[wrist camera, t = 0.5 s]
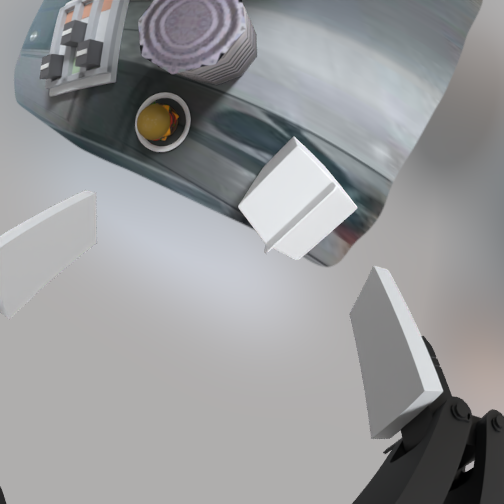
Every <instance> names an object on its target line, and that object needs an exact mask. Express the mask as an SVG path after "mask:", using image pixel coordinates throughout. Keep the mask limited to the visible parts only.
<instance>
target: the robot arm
mask: <svg viewBox="0 0 504 504" xmlns="http://www.w3.org/2000/svg"><path fill="white" fill-rule="evenodd" d="M95 244H97V227H96V193H95V192H91V191H87V190H85V191H82V192H80V193H78V194H76V195H74V196H72V197H70V198H68V199H66V200H64V201H61V202H59V203H58V204H56V205H54V206H52V207H50V208H48V209H46V210H44V211H42V212H40V213H38V214H37V215H35V216H33V217H31V218H29V219H28V220H26V221H24V222H23V223H21V224H19V225H17V226H16V227H14V228H12V229H11V230H9V231H7V232H6V233H4V234H3V235H1V236H0V313H2V314H3V315H4V316H5V317H7V318H8V319H11V318H12V317H13V316H14V315H15V314H16V313H17V312H18V311H19V310H20V309H21V308H22V307H23V306H24V305H25V304H26V303H27V302H28V301H29V300H30V299H31V298H32V297H34V295H36V294H37V293H38V292H39V291H40V290H41V289H42V288H43V287H45V286H46V285H47V284H48V283H49V282H50V281H51V280H53V279H54V278H55V277H56V276H57V275H58V274H60V273H61V272H62V271H63V270H64V269H65V268H67V267H68V266H69V265H70V264H71V263H73V262H74V261H75V260H76V259H78V258H79V257H80V256H81V255H82V254H84V253H85V252H86V251H88V250H89V249H90V248H92V247H93V246H94V245H95ZM350 318H351V323H352V327H353V332H354V336H355V341H356V346H357V351H358V356H359V361H360V366H361V372H362V378H363V384H364V390H365V396H366V403H367V410H368V417H369V424H370V431H371V439H385V438H386V439H388V438H391V437H392V436H394V435H395V434H396V433H397V432H399V431H400V430H401V433H402V438H401V439H400V440H398V441H397V442H396V443H394V444H393V445H392V446H390V447H389V448H387V449H386V450H385V451H384V452H383V453H385V454H386V453H388V452H389V451H391V450H392V451H391V452H390V454H389V455H388V457H387V458H386V460H385V461H384V463H383V464H382V466H381V467H380V469H379V470H378V471H377V473H376V474H375V476H374V477H373V478H372V480H371V481H370V482H369V484H368V485H367V486H366V488H365V489H364V490H363V491H362V493H361V494H360V495H359V496H358V497H357V499H356V500H355V501H354V502H353V503H352V504H504V416H502V414H501V413H500V412H498V411H497V410H490V411H489V412H488V413H486V414H485V415H484V416H483V417H482V418H479V417H476V416H473V415H472V414H471V410H470V408H469V407H468V405H467V404H466V403H465V402H464V401H463V400H462V399H460V398H458V397H452V395H451V392H450V390H449V387H448V384H447V382H446V379H445V377H444V374H443V372H442V369H441V367H439V366H440V364H439V362H438V360H437V359H436V355H435V352H434V350H433V348H432V346H431V345H430V343H429V342H428V341H427V340H426V338H425V337H424V336H421V334H420V332H419V330H418V328H417V326H416V323H415V321H414V319H413V317H412V315H411V313H410V311H409V309H408V307H407V305H406V303H405V301H404V299H403V297H402V295H401V293H400V291H399V289H398V287H397V286H396V283H395V282H394V280H393V278H392V276H391V274H390V272H389V270H388V269H384V268H380V267H377V266H373V268H372V270H371V272H370V275H369V277H368V279H367V281H366V283H365V285H364V287H363V289H362V291H361V293H360V295H359V297H358V298H357V300H356V302H355V305H354V306H353V308H352V310H351V312H350ZM472 461H474V467H473V468H472V469H470V470H469V471H467V472H465V466H466V465H468V464H469V463H471V462H472ZM0 504H6V501H5V498H4V495H3V492H2V489H1V487H0Z"/></svg>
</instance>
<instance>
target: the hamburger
mask: <svg viewBox="0 0 504 504" xmlns="http://www.w3.org/2000/svg"><path fill="white" fill-rule="evenodd" d="M160 98H171V99H173V100H175V101H177V102H178V103H179V104H180V105H181V106H182V108H183V109H184V112H185V116H186V125H185V129H184V131H183V133H182V135H181V136H180V138H179V139H178V140H177V141H176V142H174V143H173V144H170V145H168V146H156V145H153V144H151V143H150V142H149V141H148V140H147V139H149V140H154V141H156V140H160V141H161V140H164V141H165V140H166V138H167V137H169V136H170V135H171V134H173V132H174V131H175V130H176V128H177V125H178V117H179V116H178V115H177V114H176V112H175V110H174V109H173V108H172V107H170V106H169V105H167V104H162V103H157V104H155V102H154V104H151V103H152V102H153V101H155V100H157V99H160ZM149 104H151V105H149ZM148 105H149V106H148ZM190 122H191V117H190V111H189V109H188V106H187V105H186V103H185V102H184V101H183V99H182V98H180V97H179V96H177V95H175V94H173V93H167V92H164V93H158V94H155V95H153V96H151V97H149V98H148V99H147V100H146V101H145V102H144V103H143V104H142V105H141V107H140V108H139V110H138V113H137V115H136V120H135V129H136V133H137V136H138V138H139V140H140V142H141V143H142V144H143V145H144V146H145V147H146V148H148V149H150V150H152V151H156V152H166V151H170V150H172V149H174V148H176V147H177V146H179V145H180V144H181V143H182V142H183V140H184V139H185V137H186V136H187V134H188V131H189V128H190Z"/></svg>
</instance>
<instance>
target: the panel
mask: <svg viewBox="0 0 504 504" xmlns="http://www.w3.org/2000/svg"><path fill="white" fill-rule="evenodd" d="M128 4H129V0H72V1H70V2H68V3H66V4H65V6H64V7H62V8H60V10H59V14H58V18H57V22H56V26H55V30H54V35H53V39H52V44H51V50H50V54H58V55H64V61H63V69H62V77H60V78H57V79H46V86H45V89H50V92H49V96H57V95H61V94H64V93H68V92H72V91H76V90H80V89H84V88H89V87H93V86H98V85H103V84H109V83H114V82H116V75H117V66H118V59H119V51H120V45H121V39H122V33H123V28H124V23H125V18H126V13H127V9H128ZM73 20H78V21H81V22H85V23H88V24H87V28H86V33H85V39H84V41H85V40H88V39H92V40H96V41H100V42H103V49H102V56H101V63H100V66H98V67H94V68H85V67H76V66H75V62H76V55H77V49H78V47H70V46H64V45H60V43H61V38H62V33H63V29H64V25H65V24H66V23H68V22H70V21H73Z"/></svg>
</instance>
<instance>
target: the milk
mask: <svg viewBox="0 0 504 504" xmlns="http://www.w3.org/2000/svg"><path fill="white" fill-rule="evenodd" d="M238 208H239V209H240V211H241V212H242V213H243V215H244V216H245V217H246V219H247V220H248V221H249V223H250V224H251V225H252V227H253V228H254V229H255V231H256V232H257V233H258V234H259V236H260V237H261V238H262V240H263V241H264V242H265V244H266V245H265V251H264V252H265V253H268V252H269V251H270V250H271V249H272V248H273V249H275V250H277V251H279V252H281V253H283V254H285V255H286V256H288V257H290V258H292V259H294V260H296V261H298V260H299V259H300V258H302V257H303V256H304V255H305V254H306V253H307V252H309V251H310V250H311V249H312V248H313V247H314V246H315V245H317V244H318V243H319V242H320V241H321V240H322V239H323V238H325V237H326V236H327V235H328V234H329V233H330V232H331V231H333V230H334V229H335V228H336V227H337V226H338V225H339V224H340V223H342V222H343V221H344V220H345V219H346V218H347V217H348V216H349V215H351V214H352V213H353V212H354V211H355V210H356V209H357V206H356V205H355V203H354V202H353V201H352V200H351V198H350V197H349V196H348V194H347V193H346V192H345V191H344V189H343V188H342V187H341V186H340V184H339V183H338V182H337V181H336V179H335V178H334V177H333V176H332V175H331V173H330V172H329V171H328V170H327V169H326V167H325V166H324V165H323V164H322V163H321V162H320V161H319V160H318V159H317V158H316V157H315V156H314V155H313V154H312V153H311V152H310V151H309V150H308V149H307V148H306V147H305V146H304V145H303V144H302V143H301V142H299V141H298V140H297V139H296V138H295V137H293V138H292V139H291V140H290V141H289V142H288V143H287V144H286V145H285V146H284V147H283V148H282V149H281V150H280V151H279V152H278V153H277V154H276V155H275V156H274V157H273V158H272V159H271V160H270V161H269V162H268V163H267V164H266V165H265V166H264V167H263V168H262V170H261V171H260V173H259V175H258V176H257V178H256V179H255V181H254V182H253V184H252V185H251V187H250V188H249V190H248V191H247V193H246V194H245V196H244V198H243V199H242V201H241V202H240V204H239V205H238Z"/></svg>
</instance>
